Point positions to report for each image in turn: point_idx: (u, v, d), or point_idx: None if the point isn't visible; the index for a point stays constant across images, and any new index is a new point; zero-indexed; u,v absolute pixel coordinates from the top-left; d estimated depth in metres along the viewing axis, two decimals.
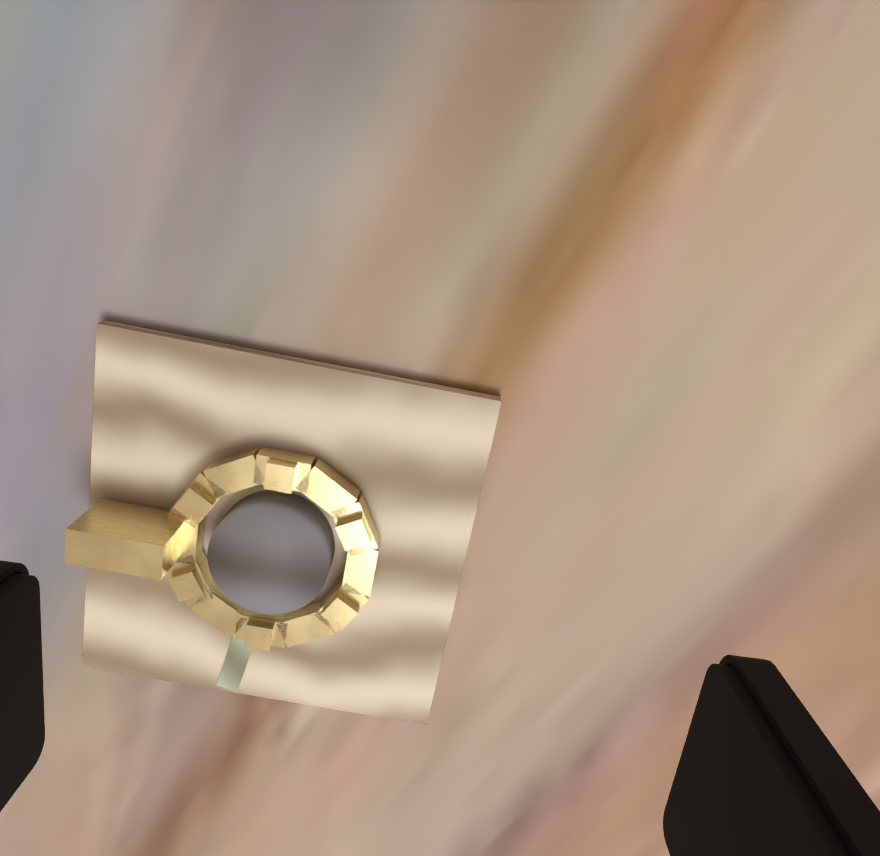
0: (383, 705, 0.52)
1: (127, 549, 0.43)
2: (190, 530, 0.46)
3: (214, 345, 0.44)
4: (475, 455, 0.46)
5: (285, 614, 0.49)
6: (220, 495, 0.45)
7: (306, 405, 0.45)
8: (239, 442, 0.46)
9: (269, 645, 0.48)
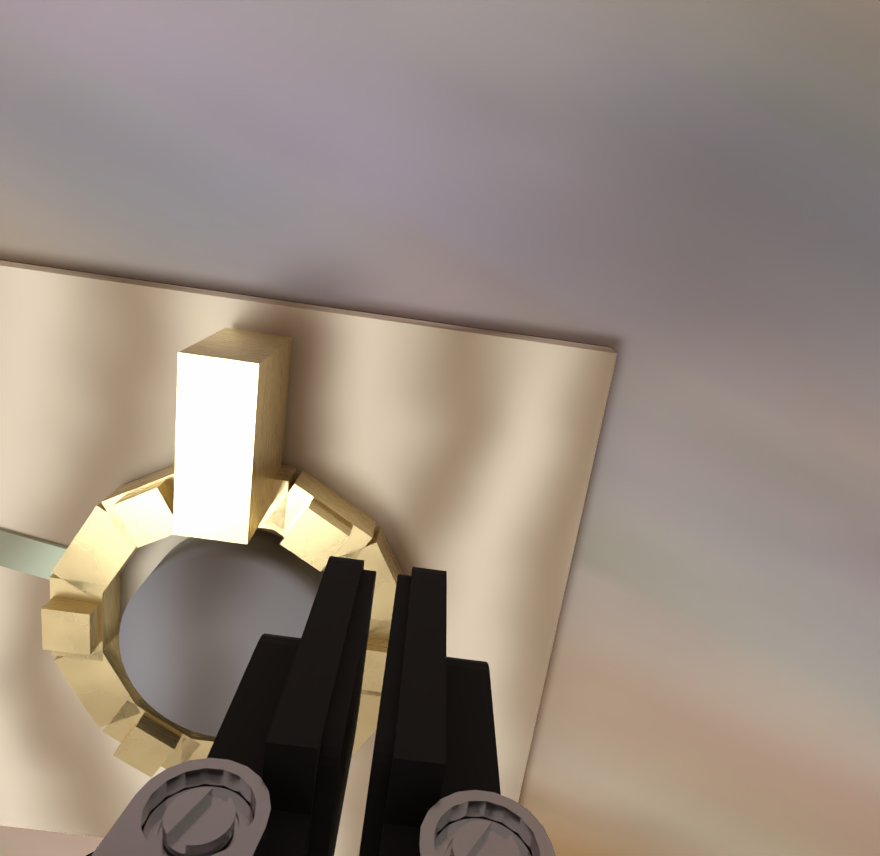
0: None
1: (230, 478, 0.22)
2: None
3: None
4: None
5: (114, 639, 0.28)
6: None
7: (484, 658, 0.29)
8: (417, 564, 0.28)
9: (55, 649, 0.26)
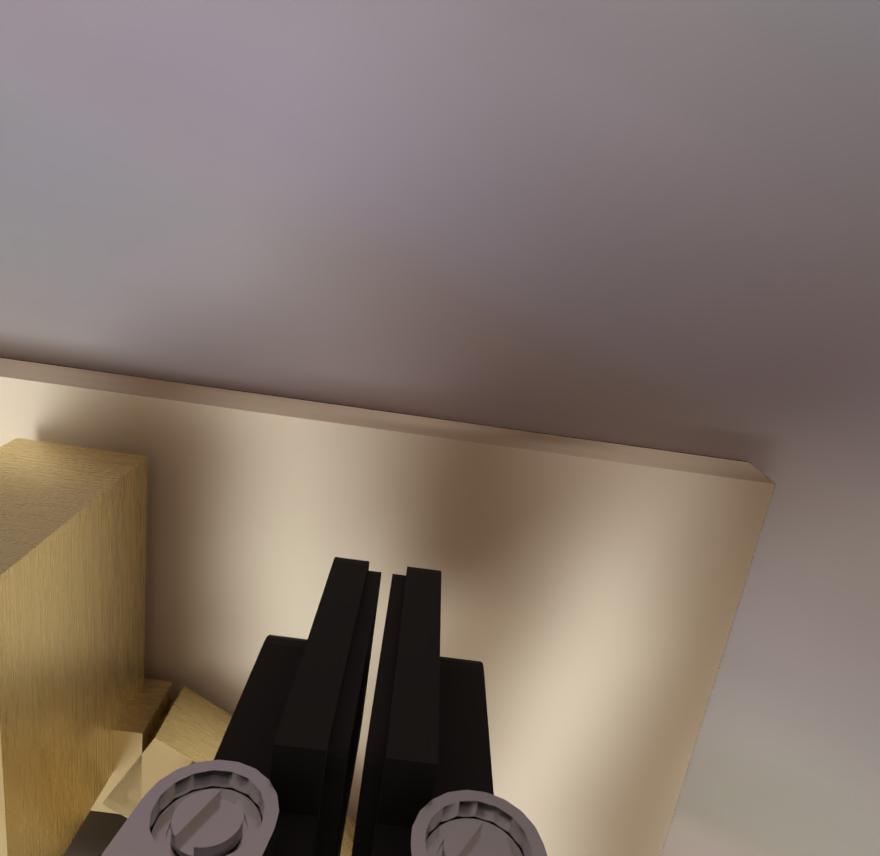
0: None
1: None
2: None
3: None
4: None
5: None
6: None
7: None
8: None
9: None
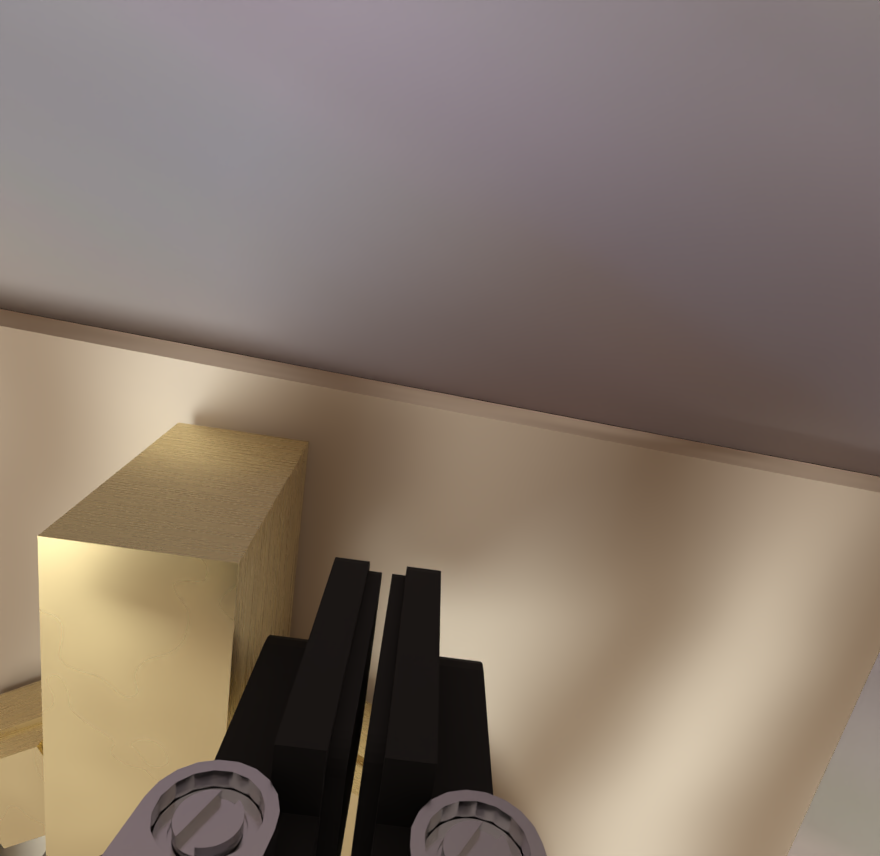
0: None
1: None
2: None
3: None
4: None
5: None
6: None
7: None
8: None
9: None
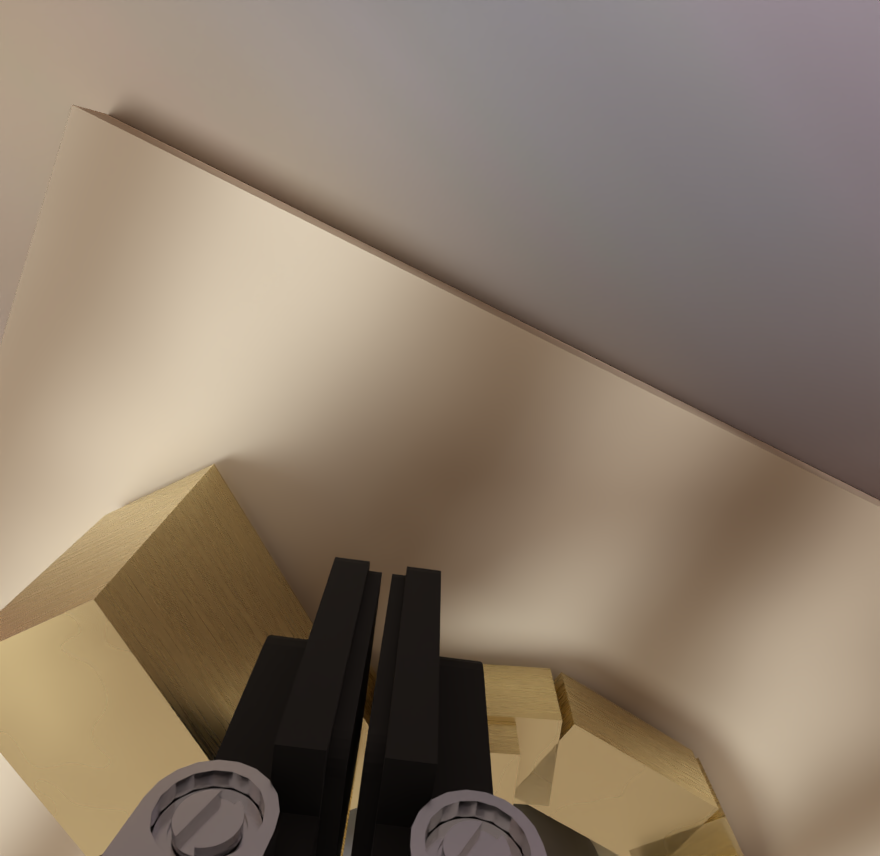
0: None
1: None
2: (352, 788, 0.13)
3: None
4: None
5: None
6: (527, 800, 0.13)
7: None
8: None
9: None
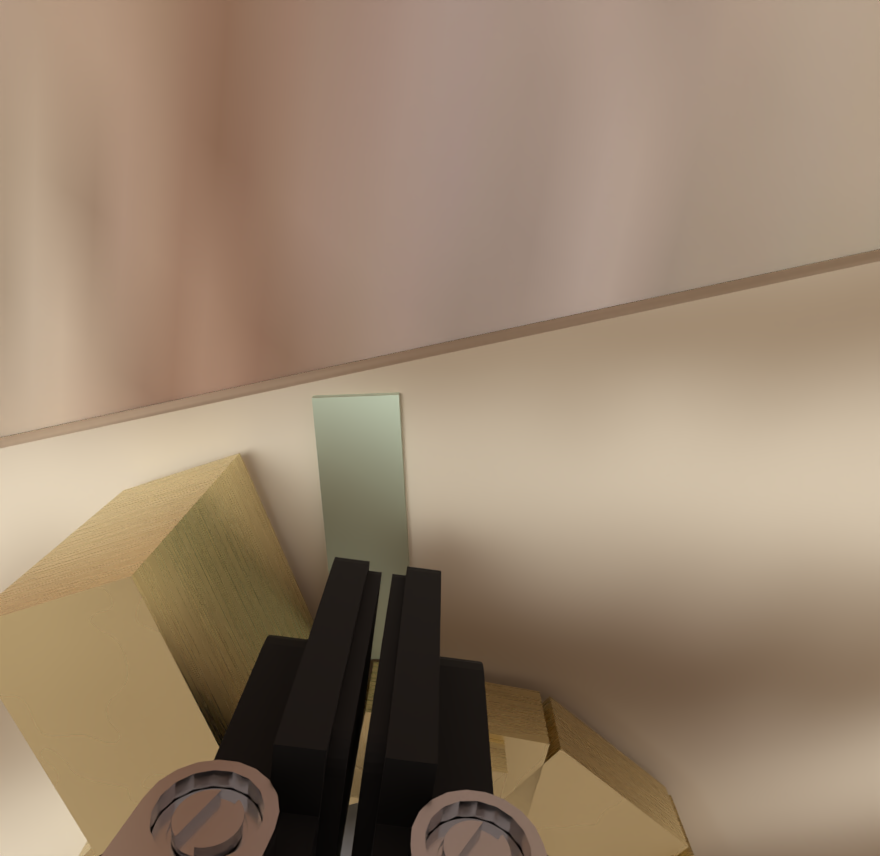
0: None
1: None
2: None
3: None
4: None
5: None
6: None
7: None
8: None
9: None
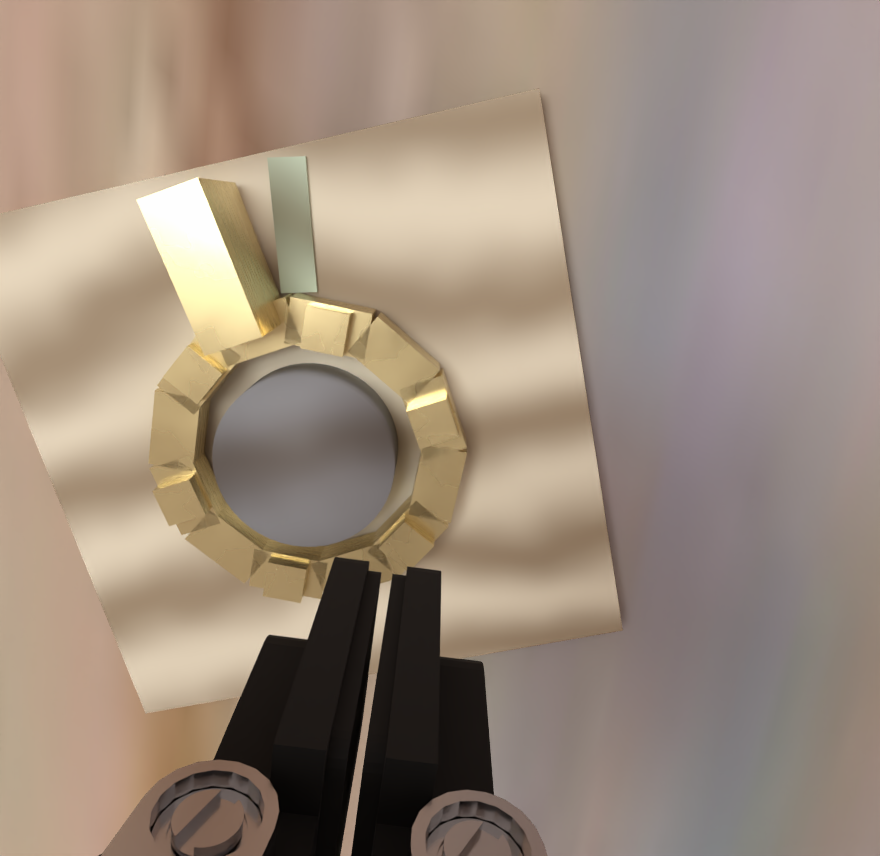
0: (32, 234, 0.30)
1: (223, 286, 0.26)
2: (277, 338, 0.30)
3: None
4: (136, 648, 0.36)
5: (224, 507, 0.33)
6: (355, 355, 0.30)
7: None
8: None
9: (178, 522, 0.31)
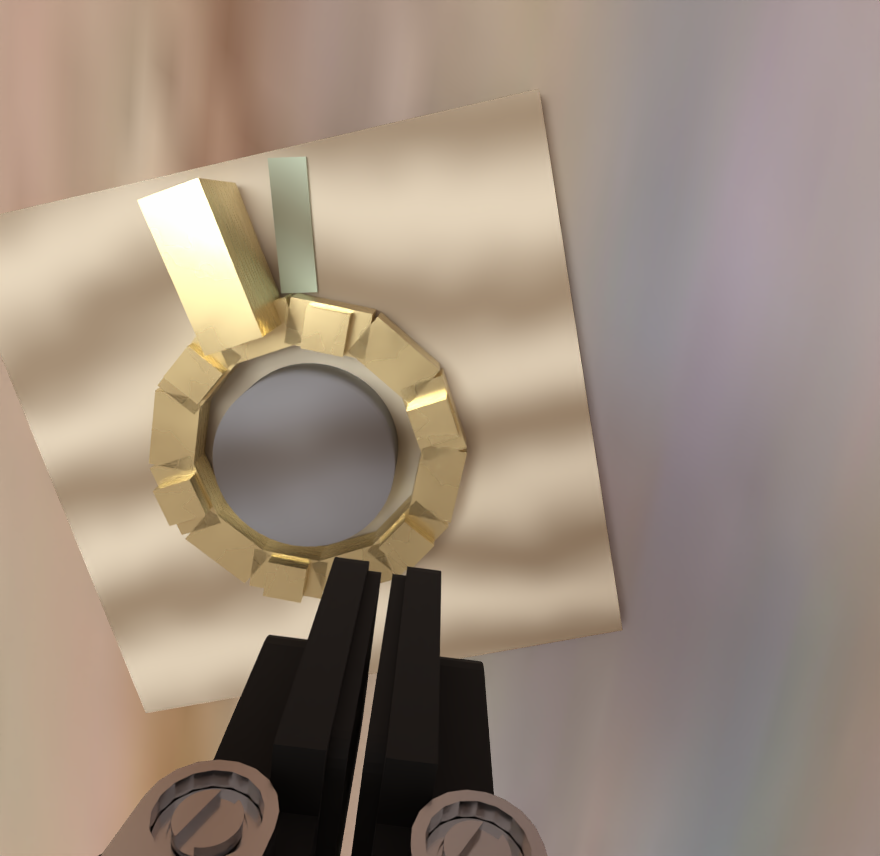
0: (32, 234, 0.30)
1: (223, 286, 0.26)
2: (277, 338, 0.30)
3: None
4: (136, 648, 0.36)
5: (224, 507, 0.33)
6: (355, 355, 0.30)
7: None
8: None
9: (178, 521, 0.31)
